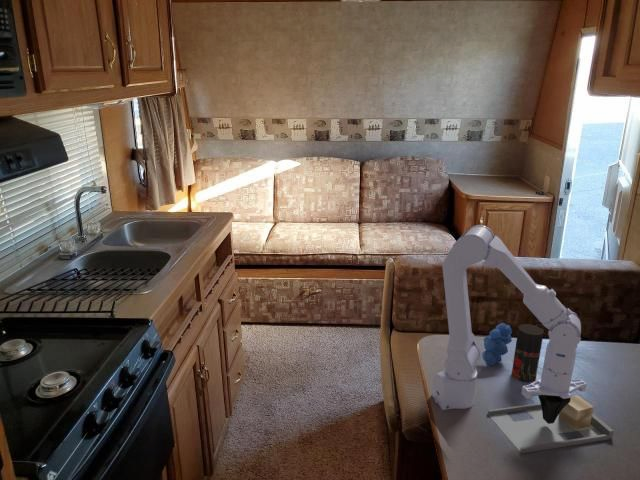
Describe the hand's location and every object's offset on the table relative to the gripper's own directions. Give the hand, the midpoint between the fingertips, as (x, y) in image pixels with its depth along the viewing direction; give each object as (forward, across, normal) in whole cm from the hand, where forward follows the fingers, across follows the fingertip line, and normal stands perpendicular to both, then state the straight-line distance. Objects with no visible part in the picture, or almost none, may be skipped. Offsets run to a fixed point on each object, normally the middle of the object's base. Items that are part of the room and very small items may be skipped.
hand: (548, 420), depth 108 cm
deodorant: (+3, +7, +19) cm, 21 cm away
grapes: (+3, +4, +29) cm, 29 cm away
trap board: (+3, 0, 0) cm, 3 cm away
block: (+1, +7, 0) cm, 7 cm away
